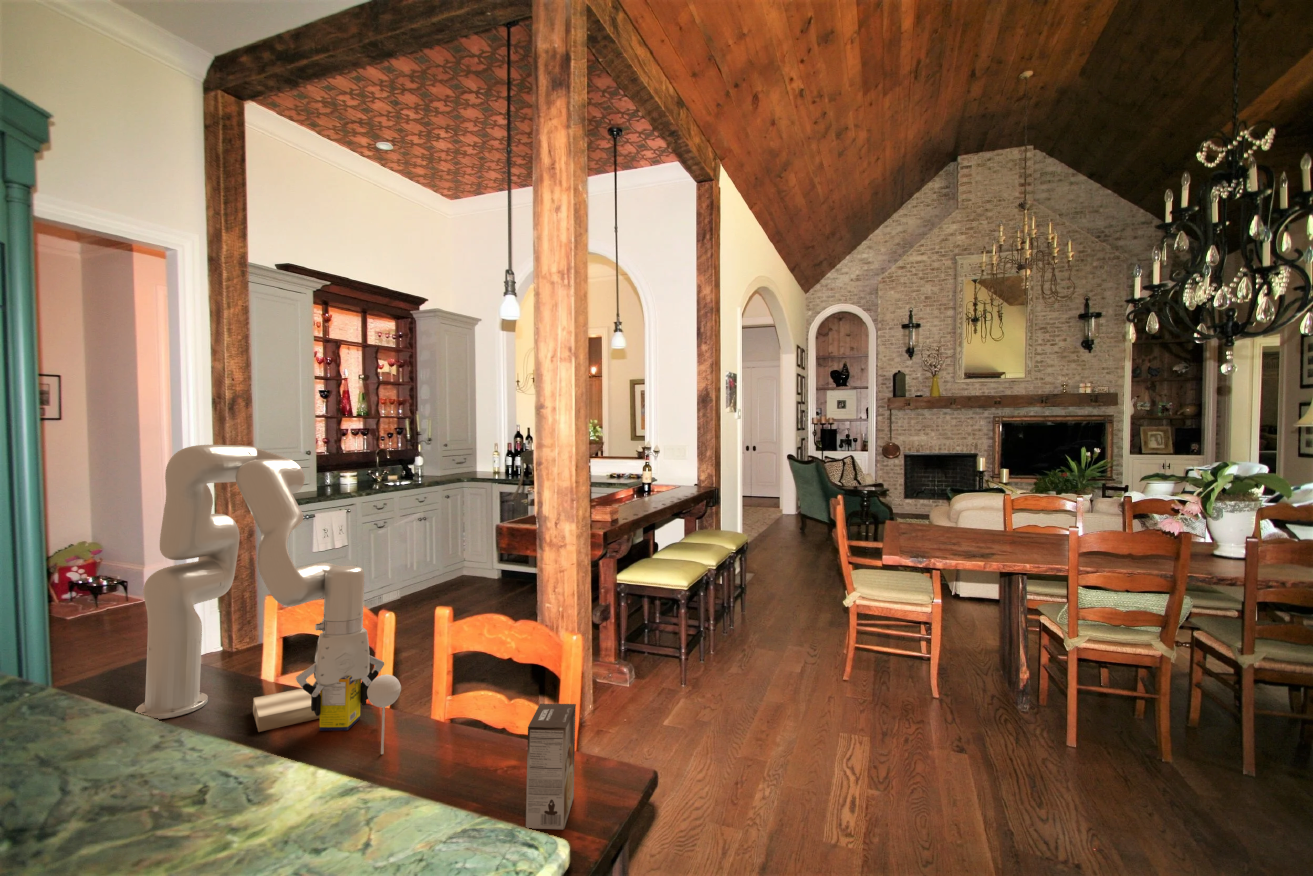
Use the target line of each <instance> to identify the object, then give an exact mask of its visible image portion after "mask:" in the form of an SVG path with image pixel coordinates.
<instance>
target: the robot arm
mask: <svg viewBox="0 0 1313 876" xmlns="http://www.w3.org/2000/svg"><path fill="white" fill-rule="evenodd" d="M164 474H165V475H164V476H165V477H164V480H165V482H164V483H165V503H164V506H163V507H164V508H163V516H162V519H161V521H162V522H161V528H160V535H159V551H160V553H161V555H162V556H163V557H164V558H166V559H168V560H171V561H184V560H190V559H197V558H198V560H197V561H193V562H191V561H190V562H186V563H184V562H183V563H180V564H175V565H170V566H167V567H164V568H161V569H158V570H157V571H155V572H153V573H152V574H151V575H150V576H148V577H147V579H146V581H145V582H144V585H143V592H142V593H143V594H142V595H143V599H144V603H145V608H146V615H147V644H146V645H147V646H146V647H147V648H146V649H147V650H146V668H145V669H146V671H145V673H146V675H145V695H144V696H145V697H144V699H145V700H144V702H142V703H141V704H139V705H138V706H137V707H136V709H135V711H134V712H138V713H141V714H144V715H148V716H151V717H154V718H158V719H157V720H162V719H169V718H170V719H171V718H175V717H180V716H183V715H186V714H190V713H192V712H194V711H197V710H199V709H201V708H202V707H204V706H205V705H207V703H208V701H209V700H208V697H209V696H208V694H206V693H204V692H200V691H201V669H202V667H201V666H202V665H201V664H202V641H203V633H202V632H203V624H202V620H201V617H200V615H199V614H198V613H197V610H196V609H195V606H194V605H198V604H200V603H204V602H208V601H211V600H215V599H218V598H220V597H222V596H224V595H225V594H226V593H228V592H229V590H230V589H231V588H232V585H233V583H234V580H235V574H236V567H237V560H238V555H239V548H240V547H239V546H240V540H241V539H240V538H241V537H240V529H239V526H238V525H237V523H236V521H235V520H234V519H233V518H232V517H231V516H229V515H227V514H224V513H212V509H213V505H214V500H213V499H214V498H213V497H214V496H213V494H212V492H211V489H210V487H209V486H208V485H209V484H215V483H216V484H217V483H236V486H237V488H238V489H239V492H240V493H241V495H242V498H243V500H244V501H245V502H244V503H245V504H246V505H247V507H248V510H249V511H250V513H251V516H252V517H253V519H254V521H255V523H256V525H257V527H258V529H259V531H260V533H261V536H260V540H259V543H258V548H257V567H258V572H259V573H260V574H259V575H260V578H261V579H262V580H263V582H264V584H265V587H266V588H267V590H268V592H269V594H270V595H271V596H272V598H273V599H274V600H275V602H277V603H278V604H280V605H282V606H285V607H296V606H300V605H302V604H306V603H309V602H311V601H312V602H313V601H317V600H318V599H323V618H322V621H321V622H319V623H315V631H321V632H320V633H319V635H318V636H319V637H318V639H317V643H316V648H315V649H316V650H315V655H314V663H313V664H312V665H311V666H309V667H307V668H306V669H305V670H303V671H302V672H301V673H299V674H298V675H297V676H296V677H295V681H296V682H297V684H299V686H300V688H301V689H302V688H303V689H304V690H305V691H306V692H308V693H309V694H310V695H311V711H314V712H315V714H316V716H319V715H320V713H321V696H320V691H321V690H322V688H323V687H324V686H327V685H333V684H336V683H338V682H339V679H341V678H344V677H349V676H352V680H358V679H361V702H360V703H361V704H360V705H362V706H367V700H369V699H368V696H367V689H368V687H369V685H370V684H371V682H372V681H373V680H374V679H375V678H377V677H379V673H380V672H381V670H382V669H383V667H384V666H385V662H384V661H383V660H382V659H380V658H376V657H375V656H372V655H370V644H369V635H368V630H367V629H366V628H364V625H363V624H364V596H365V595H364V594H365V593H364V592H365V571H364V569H363V568H362V567H360V566H357V565H356V566H355V565H344V566H343V565H338V564H334V563H329V562H317V563H312V564H308V565H303V566H300V567H296V566H295V563H294V562H293V560H292V557H291V556H290V554H289V550H288V549H289V548H288V541H289V537H290V534H291V533H292V531H293V530H295V529H296V528H298V527H299V526H300V525H301V524H302V522H303V521H304V513H303V511H302V510H301V507H300V506H299V504H298V502H297V500H296V499H295V496H294V494H296V493H298V492H299V491H301V489H302V488H303V487H304V483H305V481H306V480H305V474H304V471H303V469H302V467H301V466H300V464H298V463H297V462H296V461H294V460H292V459H291V458H289V457H285V456H282V455H279V454H277V453H273V452H271V451H267V450H265V449H262V448H258V447H256V446H252V445H236V444H235V445H234V444H231V445H229V444H228V445H227V444H198V445H192V446H191V445H190V446H187V447H185V448H182V449H180V450H178V451H176V452H175V453H174V454H173V455H172V457H170V459H169V460H168V462H167V465H166V468H165V473H164ZM371 665H374V666H373V669H372V670H370V668H371ZM312 675H313V678H314V679H315V681H314V683H313V684H311V683H309V682H308V681H307V679H308V678H309V677H310V676H312Z"/></svg>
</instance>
